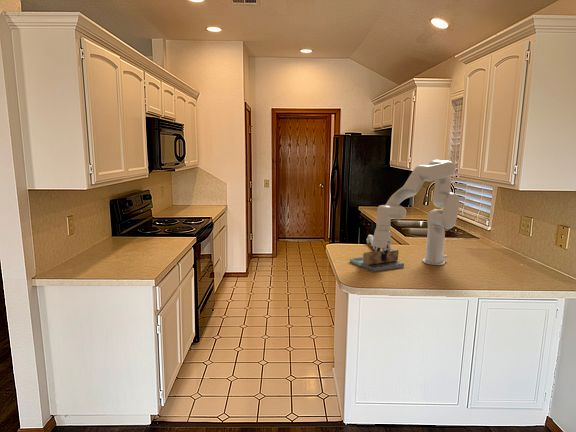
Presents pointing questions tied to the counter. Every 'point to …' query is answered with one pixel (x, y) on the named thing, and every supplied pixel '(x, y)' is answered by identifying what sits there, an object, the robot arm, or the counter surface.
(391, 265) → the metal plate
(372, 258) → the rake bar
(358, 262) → the teal tray
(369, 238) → the white long cylinder
